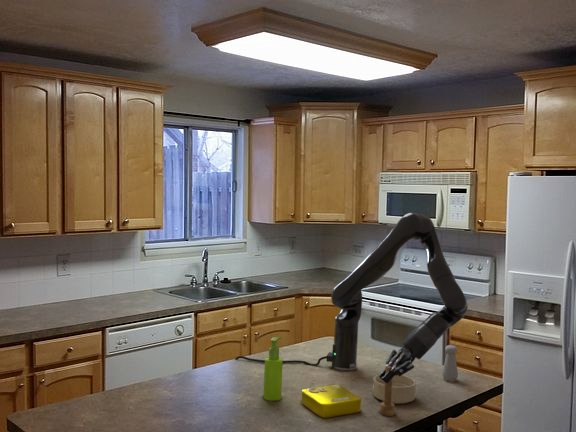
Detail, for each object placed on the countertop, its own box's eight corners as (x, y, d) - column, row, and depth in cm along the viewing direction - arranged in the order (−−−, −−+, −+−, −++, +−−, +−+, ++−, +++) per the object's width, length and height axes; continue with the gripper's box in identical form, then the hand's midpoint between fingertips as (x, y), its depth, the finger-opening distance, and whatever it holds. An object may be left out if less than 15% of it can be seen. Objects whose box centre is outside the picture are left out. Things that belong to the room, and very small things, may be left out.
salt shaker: (456, 378, 223) (458, 344, 223) (459, 383, 218) (461, 348, 217) (440, 377, 224) (442, 343, 223) (443, 382, 218) (444, 347, 217)
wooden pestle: (379, 414, 184) (381, 368, 183) (380, 409, 189) (382, 364, 188) (393, 416, 183) (395, 369, 182) (394, 411, 187) (396, 365, 187)
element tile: (322, 419, 179) (323, 403, 179) (299, 402, 192) (299, 387, 192) (363, 412, 186) (363, 397, 186) (337, 396, 199) (338, 382, 199)
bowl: (370, 402, 195) (371, 384, 195) (374, 388, 209) (375, 371, 208) (414, 407, 192) (415, 389, 191) (415, 392, 205) (416, 376, 205)
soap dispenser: (284, 395, 198) (286, 336, 197) (277, 401, 192) (279, 341, 191) (268, 392, 200) (270, 334, 199) (260, 399, 194) (263, 339, 193)
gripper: (404, 327, 193) (367, 365, 191) (422, 338, 179) (382, 379, 177) (418, 343, 194) (382, 380, 192) (437, 355, 181) (398, 395, 179)
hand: (382, 379), depth 185 cm, fingers closed on wooden pestle, 2 cm apart
